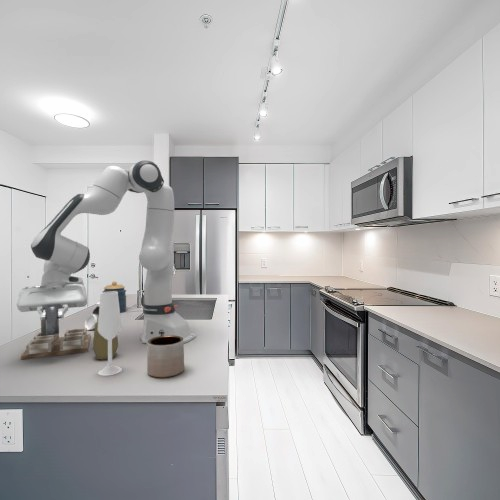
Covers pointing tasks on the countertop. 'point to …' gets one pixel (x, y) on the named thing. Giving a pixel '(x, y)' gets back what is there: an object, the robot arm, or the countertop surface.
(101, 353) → the squeeze bottle
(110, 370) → the champagne flute
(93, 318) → the spread jar
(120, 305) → the canister
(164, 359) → the planter
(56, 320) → the pin
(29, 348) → the wooden compartment tray
